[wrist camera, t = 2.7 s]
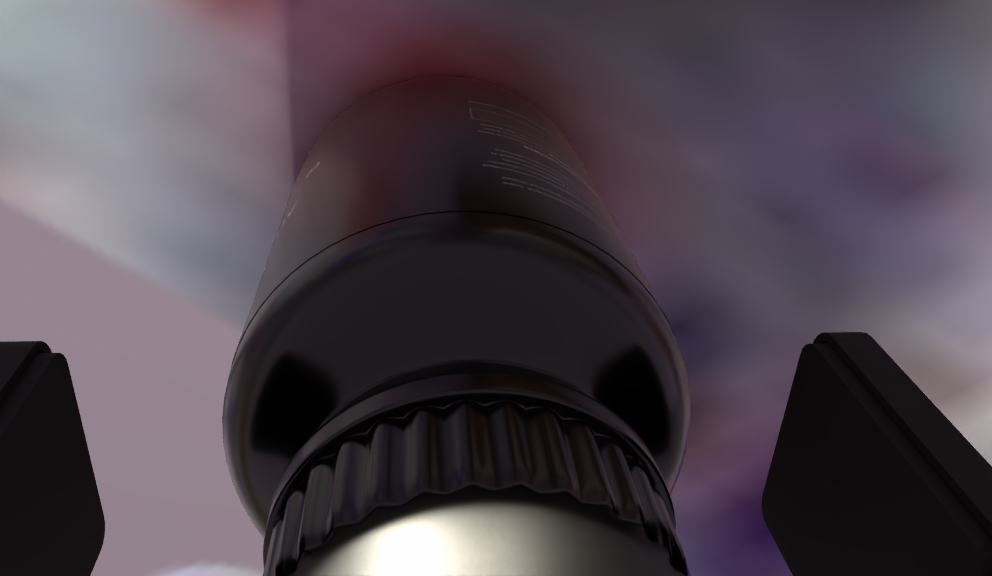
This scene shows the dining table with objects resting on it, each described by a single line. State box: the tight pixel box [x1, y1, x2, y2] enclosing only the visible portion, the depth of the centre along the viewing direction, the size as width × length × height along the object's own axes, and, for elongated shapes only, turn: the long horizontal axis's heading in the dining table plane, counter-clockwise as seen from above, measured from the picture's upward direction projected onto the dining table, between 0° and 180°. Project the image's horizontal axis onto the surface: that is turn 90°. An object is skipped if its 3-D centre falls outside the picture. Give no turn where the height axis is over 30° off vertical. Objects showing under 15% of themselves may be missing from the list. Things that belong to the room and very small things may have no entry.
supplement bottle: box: [222, 76, 691, 576], centre depth 14 cm, size 7×7×12 cm
